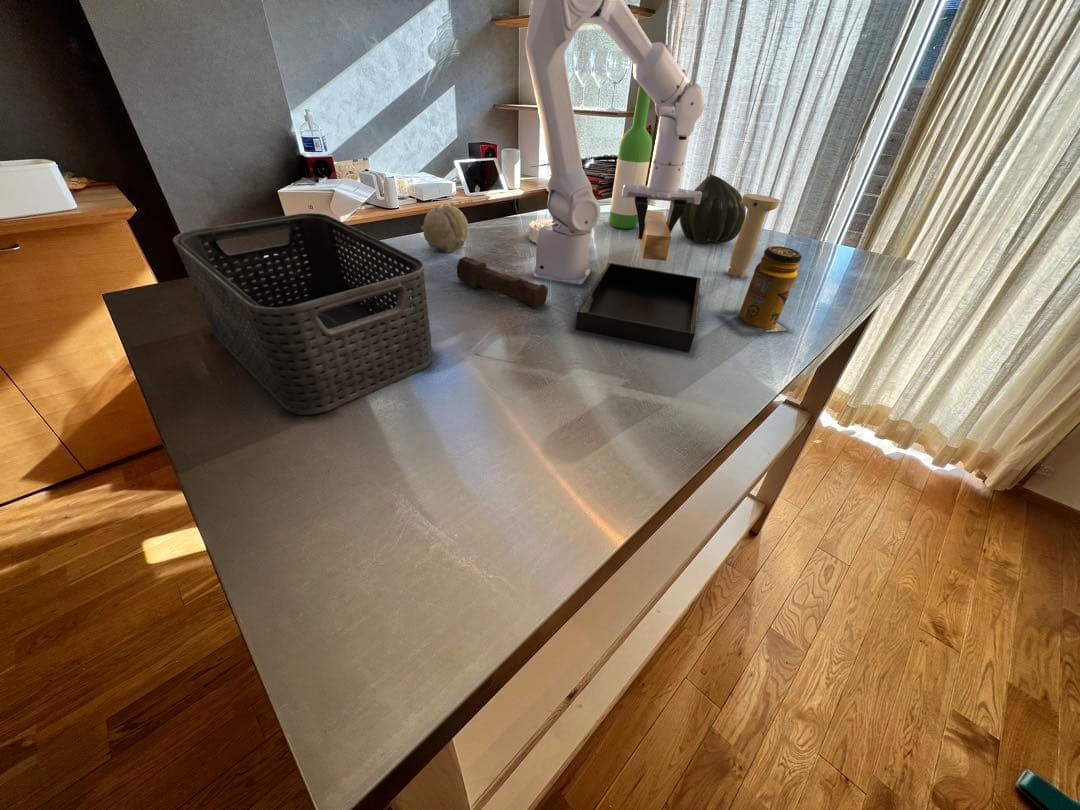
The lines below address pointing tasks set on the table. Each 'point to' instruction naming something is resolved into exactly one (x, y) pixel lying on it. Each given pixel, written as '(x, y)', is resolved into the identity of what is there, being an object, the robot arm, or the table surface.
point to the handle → (750, 232)
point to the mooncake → (537, 228)
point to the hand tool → (501, 282)
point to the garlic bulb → (445, 228)
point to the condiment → (770, 288)
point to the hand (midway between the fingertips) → (652, 238)
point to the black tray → (642, 307)
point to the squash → (714, 213)
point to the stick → (655, 237)
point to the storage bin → (312, 308)
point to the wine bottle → (631, 165)
